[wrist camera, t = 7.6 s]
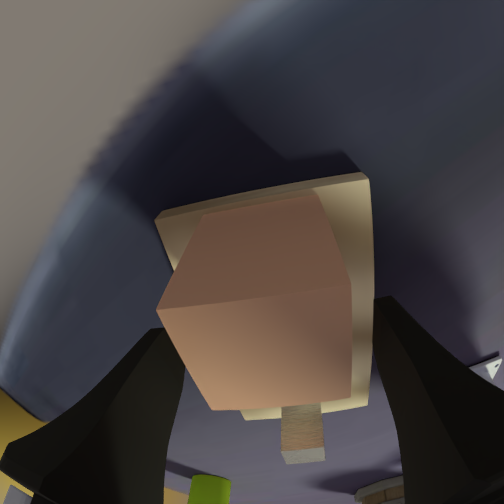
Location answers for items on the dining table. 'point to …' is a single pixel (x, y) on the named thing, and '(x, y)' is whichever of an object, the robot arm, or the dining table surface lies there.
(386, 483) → the tankard
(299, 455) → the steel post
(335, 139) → the dining table surface
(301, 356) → the tan cardboard box
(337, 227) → the birch board
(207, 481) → the soap dispenser
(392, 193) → the dining table surface
